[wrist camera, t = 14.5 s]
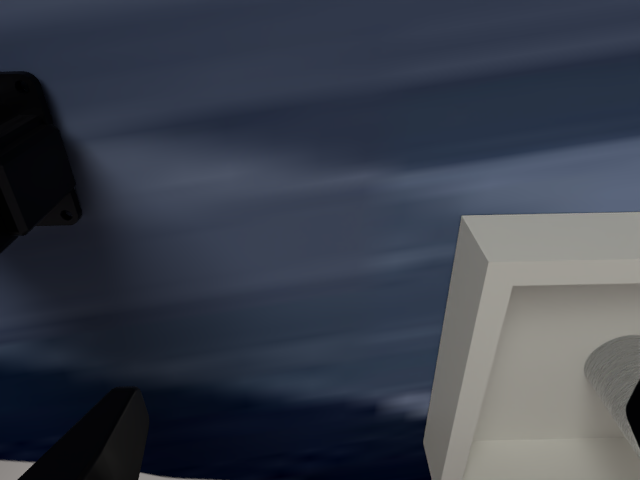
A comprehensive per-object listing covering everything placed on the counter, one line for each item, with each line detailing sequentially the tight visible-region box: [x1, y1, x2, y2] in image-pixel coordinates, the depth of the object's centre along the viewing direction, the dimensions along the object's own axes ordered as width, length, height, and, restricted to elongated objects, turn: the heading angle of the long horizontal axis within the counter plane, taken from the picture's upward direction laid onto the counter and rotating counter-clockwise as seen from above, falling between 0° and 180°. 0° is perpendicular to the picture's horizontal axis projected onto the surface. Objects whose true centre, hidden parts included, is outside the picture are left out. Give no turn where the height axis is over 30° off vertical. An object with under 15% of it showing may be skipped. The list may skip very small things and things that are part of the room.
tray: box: [423, 212, 640, 480], centre depth 24 cm, size 17×17×4 cm
